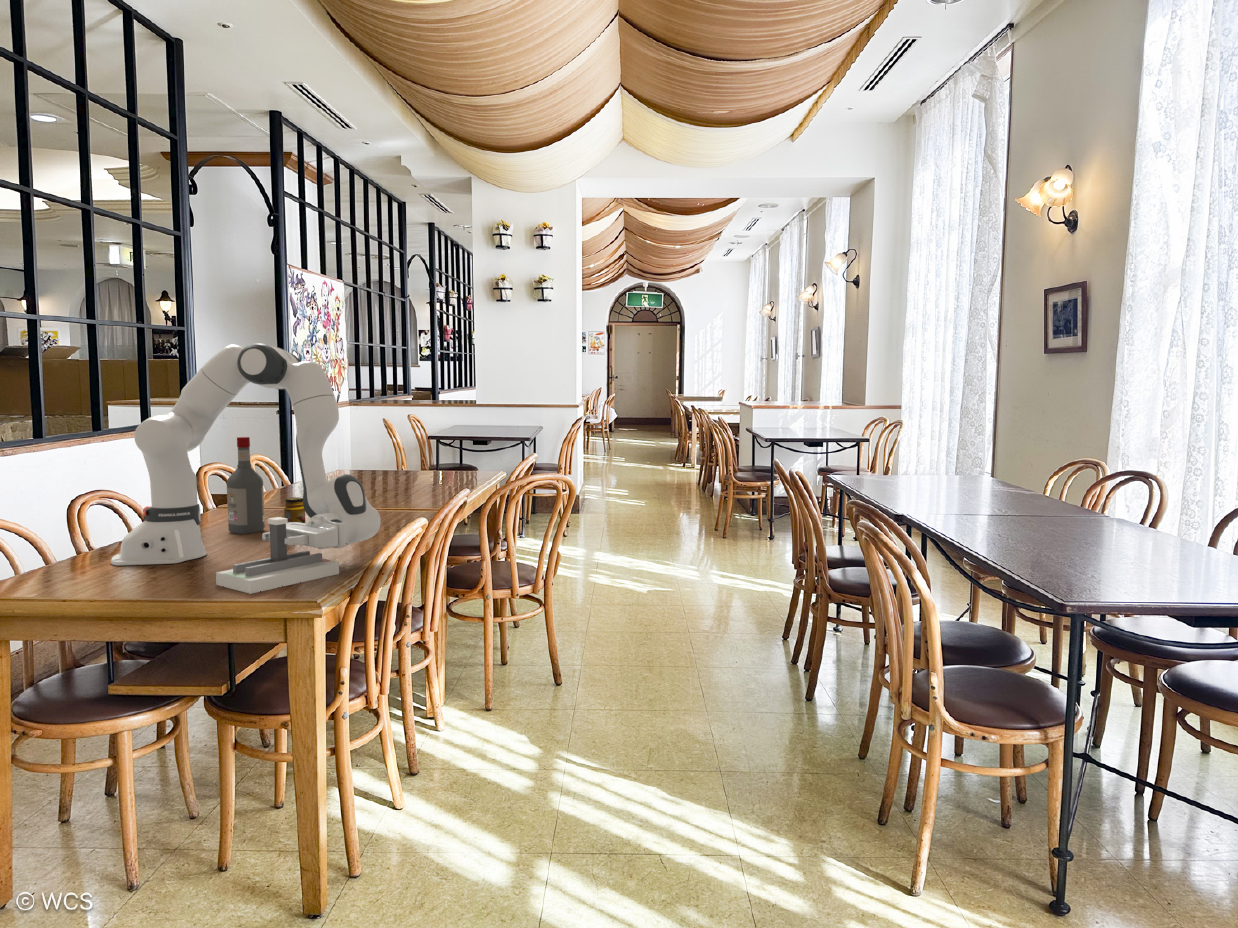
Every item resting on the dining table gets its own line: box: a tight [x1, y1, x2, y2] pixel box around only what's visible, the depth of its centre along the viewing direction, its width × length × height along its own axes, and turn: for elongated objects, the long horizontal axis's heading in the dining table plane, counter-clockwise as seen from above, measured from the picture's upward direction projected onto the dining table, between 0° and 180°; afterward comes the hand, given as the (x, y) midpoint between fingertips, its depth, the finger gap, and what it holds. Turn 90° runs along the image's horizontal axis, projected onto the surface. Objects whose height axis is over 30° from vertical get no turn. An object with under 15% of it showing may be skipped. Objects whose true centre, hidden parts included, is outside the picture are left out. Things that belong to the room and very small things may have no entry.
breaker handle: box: [267, 516, 288, 563], centre depth 201 cm, size 3×4×12 cm
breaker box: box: [215, 550, 340, 595], centre depth 202 cm, size 24×14×5 cm, turn 146°
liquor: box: [226, 436, 266, 535], centre depth 262 cm, size 9×9×30 cm
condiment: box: [283, 496, 307, 524], centre depth 255 cm, size 7×8×12 cm
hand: (274, 539), depth 201 cm, fingers open, 8 cm apart
